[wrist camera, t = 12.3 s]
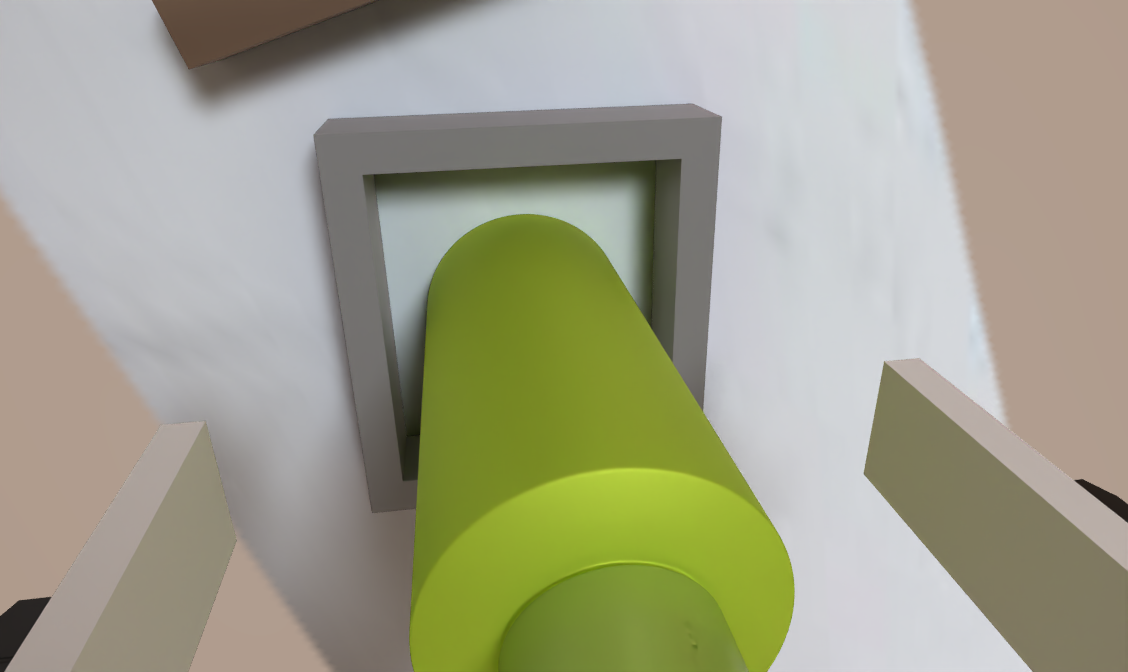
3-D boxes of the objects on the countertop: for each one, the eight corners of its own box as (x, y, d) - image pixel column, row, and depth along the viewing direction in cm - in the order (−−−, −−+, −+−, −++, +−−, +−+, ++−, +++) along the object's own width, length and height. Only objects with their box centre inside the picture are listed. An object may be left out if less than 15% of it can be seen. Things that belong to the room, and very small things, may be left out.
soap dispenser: (674, 246, 23) (1510, 1161, 5) (553, 420, 25) (839, 1537, 7) (510, 144, 21) (906, 1036, 3) (392, 340, 23) (201, 1611, 5)
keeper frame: (328, 118, 20) (313, 134, 18) (692, 103, 21) (721, 116, 19) (379, 465, 25) (372, 512, 22) (676, 437, 26) (698, 479, 24)
